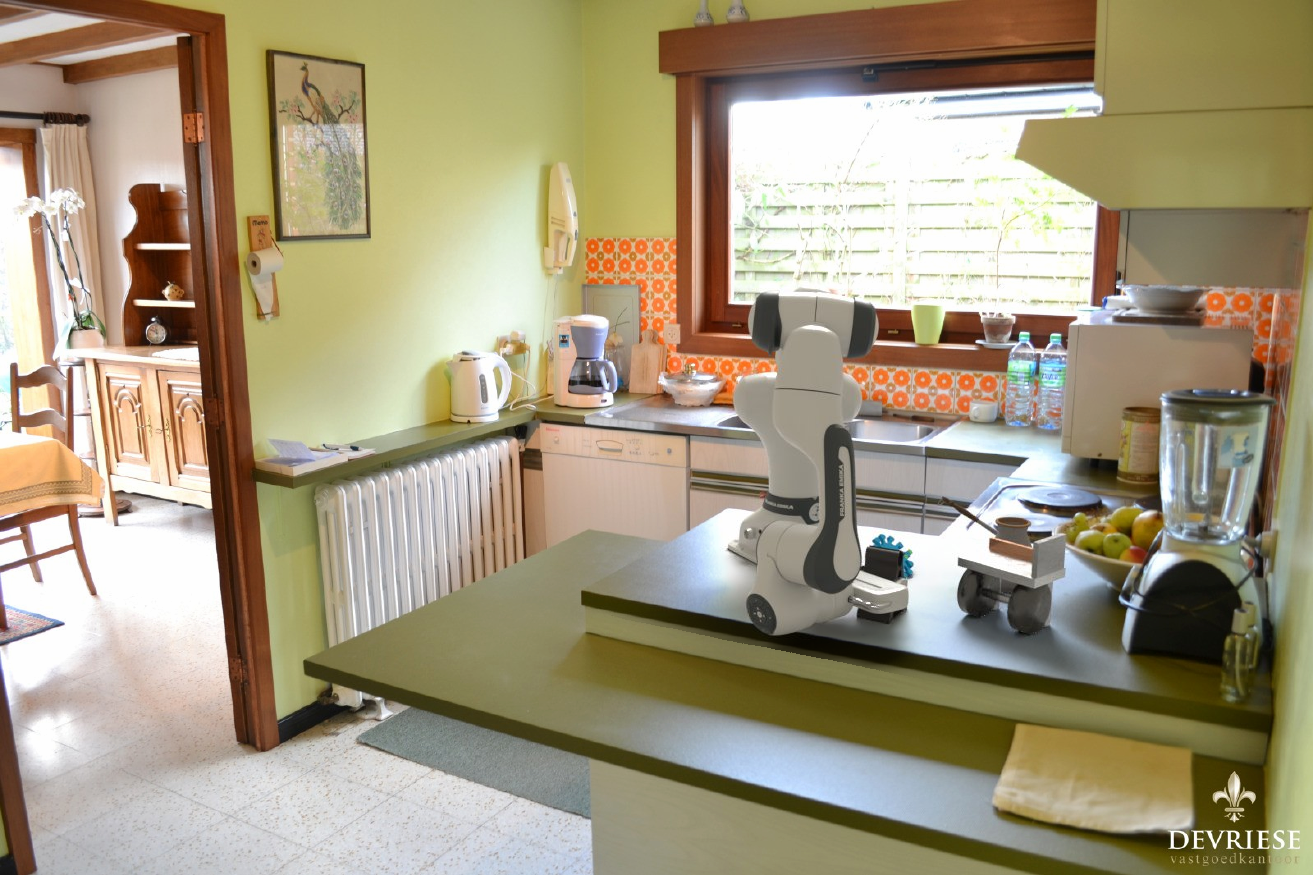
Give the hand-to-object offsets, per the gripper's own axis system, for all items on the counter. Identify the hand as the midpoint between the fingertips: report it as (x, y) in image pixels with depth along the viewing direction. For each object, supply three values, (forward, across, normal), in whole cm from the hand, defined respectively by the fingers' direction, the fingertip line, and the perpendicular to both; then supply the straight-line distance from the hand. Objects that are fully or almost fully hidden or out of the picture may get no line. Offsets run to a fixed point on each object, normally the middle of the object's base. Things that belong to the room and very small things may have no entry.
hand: (883, 575), depth 180 cm
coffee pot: (+29, -1, +7) cm, 30 cm away
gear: (+18, +12, +7) cm, 23 cm away
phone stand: (0, 0, +7) cm, 7 cm away
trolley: (+14, -16, +7) cm, 22 cm away
